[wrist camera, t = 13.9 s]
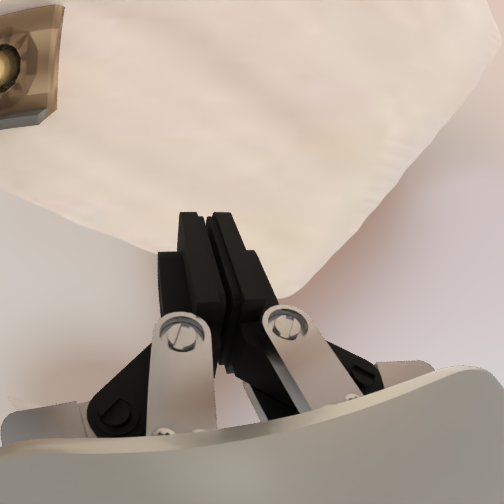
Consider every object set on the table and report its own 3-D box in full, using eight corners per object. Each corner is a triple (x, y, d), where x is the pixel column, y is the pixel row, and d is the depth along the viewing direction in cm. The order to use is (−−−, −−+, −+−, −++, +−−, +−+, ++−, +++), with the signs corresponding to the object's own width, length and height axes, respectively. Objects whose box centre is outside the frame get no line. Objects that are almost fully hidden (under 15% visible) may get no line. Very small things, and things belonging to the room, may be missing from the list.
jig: (-25, 26, 16) (-54, 30, 12) (64, 7, 20) (45, 2, 15) (-26, 120, 23) (-53, 139, 19) (57, 109, 27) (38, 124, 22)
